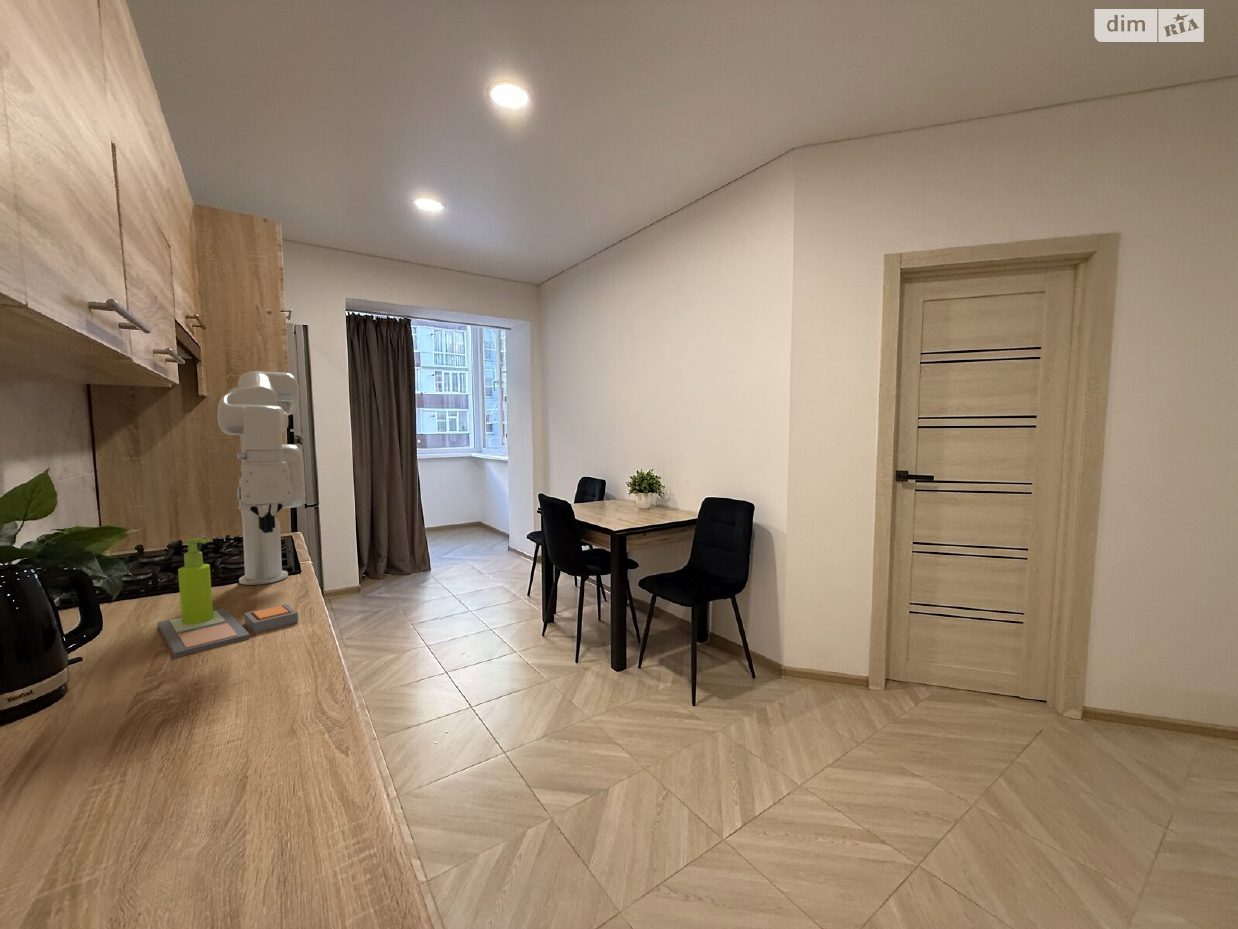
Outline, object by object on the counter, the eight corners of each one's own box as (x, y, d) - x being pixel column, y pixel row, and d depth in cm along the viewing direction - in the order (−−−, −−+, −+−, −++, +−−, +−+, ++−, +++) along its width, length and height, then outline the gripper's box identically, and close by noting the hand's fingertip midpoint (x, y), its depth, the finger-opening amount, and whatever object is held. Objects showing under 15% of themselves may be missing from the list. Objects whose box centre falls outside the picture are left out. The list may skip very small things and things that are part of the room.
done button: (253, 619, 125) (253, 612, 125) (281, 613, 129) (281, 605, 129) (260, 626, 121) (259, 618, 121) (289, 619, 125) (288, 611, 125)
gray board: (158, 626, 122) (158, 621, 122) (225, 611, 132) (225, 607, 132) (174, 657, 106) (174, 652, 106) (249, 638, 116) (249, 633, 116)
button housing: (244, 623, 125) (244, 613, 124) (286, 613, 131) (286, 603, 131) (254, 633, 119) (254, 623, 118) (298, 622, 125) (297, 612, 125)
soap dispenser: (204, 624, 121) (198, 542, 119) (175, 624, 120) (169, 542, 119) (223, 614, 126) (218, 536, 125) (195, 614, 126) (190, 536, 125)
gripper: (229, 459, 114) (233, 539, 115) (304, 456, 125) (306, 529, 127) (221, 457, 119) (225, 534, 120) (294, 454, 130) (297, 525, 132)
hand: (267, 531), depth 124 cm, fingers closed
